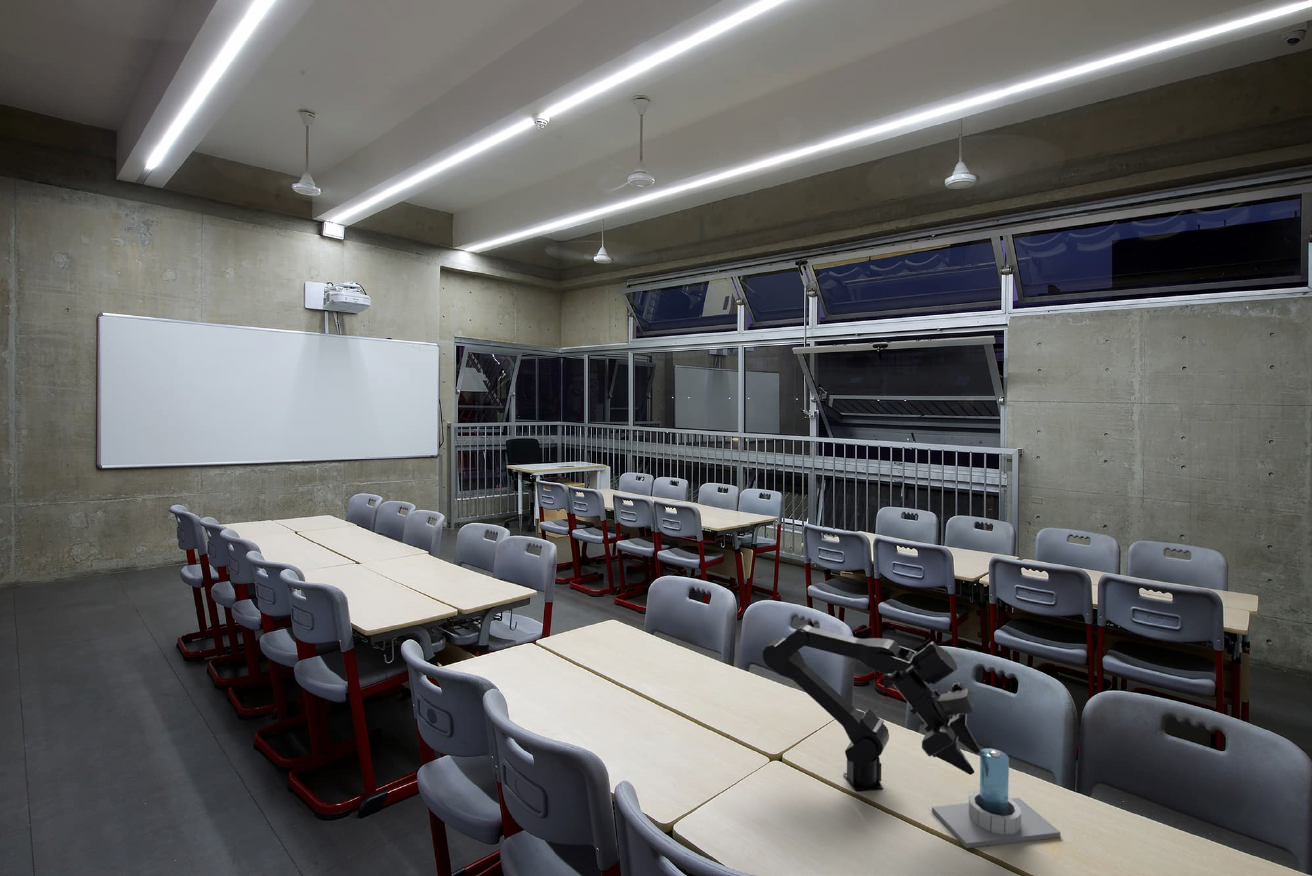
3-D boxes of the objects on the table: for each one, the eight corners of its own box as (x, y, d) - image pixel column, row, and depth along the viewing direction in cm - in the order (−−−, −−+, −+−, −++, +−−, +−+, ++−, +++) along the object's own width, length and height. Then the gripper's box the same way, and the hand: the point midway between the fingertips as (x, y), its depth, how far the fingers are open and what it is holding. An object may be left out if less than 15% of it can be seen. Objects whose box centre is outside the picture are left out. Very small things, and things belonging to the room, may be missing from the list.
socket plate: (966, 848, 117) (967, 827, 117) (931, 811, 128) (932, 792, 128) (1060, 837, 120) (1060, 817, 120) (1018, 802, 131) (1019, 783, 131)
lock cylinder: (977, 821, 123) (978, 754, 123) (980, 807, 127) (982, 743, 127) (1006, 830, 120) (1007, 761, 120) (1008, 816, 125) (1010, 750, 124)
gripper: (941, 691, 120) (1004, 766, 114) (956, 660, 135) (1012, 724, 130) (897, 720, 125) (956, 792, 119) (917, 686, 140) (969, 749, 134)
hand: (975, 762), depth 125 cm, fingers open, 9 cm apart
